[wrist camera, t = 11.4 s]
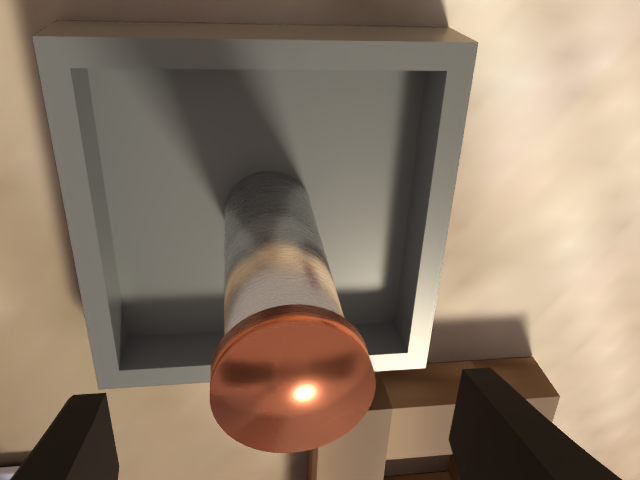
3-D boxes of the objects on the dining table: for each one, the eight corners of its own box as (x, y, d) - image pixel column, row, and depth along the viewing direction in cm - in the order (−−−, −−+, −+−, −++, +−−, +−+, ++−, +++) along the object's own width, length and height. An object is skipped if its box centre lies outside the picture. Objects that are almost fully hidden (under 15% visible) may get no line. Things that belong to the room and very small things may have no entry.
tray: (110, 344, 23) (98, 389, 21) (56, 20, 17) (32, 36, 15) (408, 328, 25) (425, 368, 23) (449, 27, 19) (478, 42, 17)
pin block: (305, 522, 30) (311, 570, 28) (312, 370, 25) (320, 414, 23) (492, 504, 31) (512, 548, 29) (532, 356, 27) (560, 396, 24)
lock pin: (218, 257, 21) (214, 459, 13) (213, 163, 19) (205, 332, 12) (317, 253, 22) (369, 446, 14) (321, 161, 20) (382, 322, 12)
